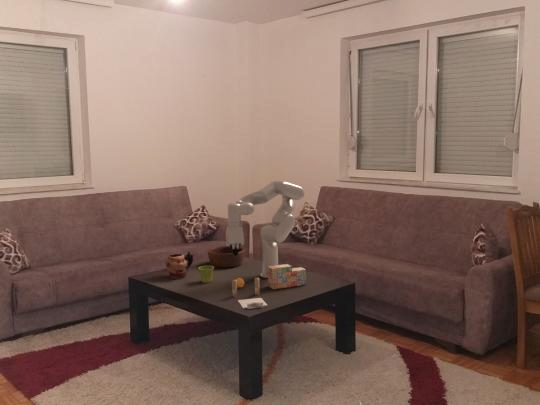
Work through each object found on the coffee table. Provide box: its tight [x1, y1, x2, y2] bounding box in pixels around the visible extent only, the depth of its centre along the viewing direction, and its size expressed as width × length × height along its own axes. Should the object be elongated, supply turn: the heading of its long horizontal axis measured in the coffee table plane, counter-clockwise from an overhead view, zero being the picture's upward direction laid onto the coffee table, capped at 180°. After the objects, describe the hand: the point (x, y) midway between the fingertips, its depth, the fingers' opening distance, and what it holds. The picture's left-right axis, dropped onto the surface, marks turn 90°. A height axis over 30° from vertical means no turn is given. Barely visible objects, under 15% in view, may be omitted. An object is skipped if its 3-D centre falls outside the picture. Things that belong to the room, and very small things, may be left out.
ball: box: [235, 277, 245, 289], centre depth 318 cm, size 6×6×6 cm
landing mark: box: [237, 297, 268, 309], centre depth 290 cm, size 13×13×1 cm
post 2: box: [254, 277, 261, 296], centre depth 304 cm, size 3×3×9 cm
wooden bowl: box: [207, 245, 246, 269], centre depth 373 cm, size 25×25×10 cm
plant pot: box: [198, 265, 215, 284], centre depth 332 cm, size 9×9×9 cm
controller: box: [183, 251, 194, 269], centre depth 366 cm, size 4×12×10 cm, turn 133°
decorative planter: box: [165, 253, 188, 279], centre depth 344 cm, size 20×12×14 cm, turn 40°
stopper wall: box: [246, 302, 264, 310], centre depth 282 cm, size 8×2×2 cm, turn 106°
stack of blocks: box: [267, 263, 307, 290], centre depth 320 cm, size 21×6×12 cm, turn 112°
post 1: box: [231, 279, 238, 298], centre depth 301 cm, size 3×3×9 cm
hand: (235, 255), depth 325 cm, fingers closed
